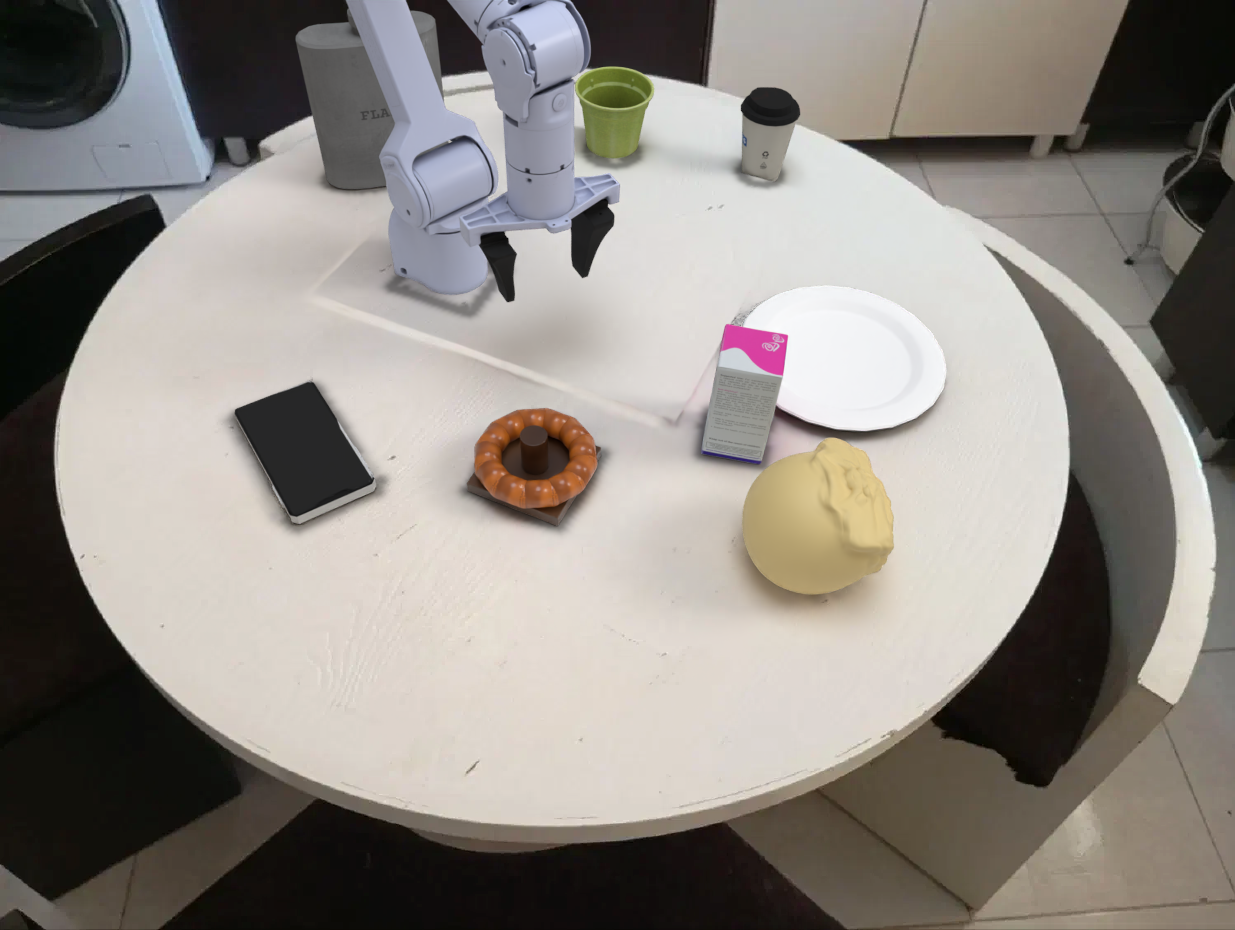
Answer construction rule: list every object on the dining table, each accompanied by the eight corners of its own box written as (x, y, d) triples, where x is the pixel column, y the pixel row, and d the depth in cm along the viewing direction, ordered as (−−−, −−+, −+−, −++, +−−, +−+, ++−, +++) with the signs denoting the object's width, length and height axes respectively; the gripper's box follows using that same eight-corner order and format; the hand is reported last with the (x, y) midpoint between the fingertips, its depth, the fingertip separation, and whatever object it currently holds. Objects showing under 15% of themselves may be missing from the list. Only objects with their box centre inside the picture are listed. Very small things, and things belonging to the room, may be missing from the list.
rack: (467, 491, 88) (462, 453, 84) (514, 423, 94) (512, 385, 90) (557, 526, 86) (557, 489, 82) (601, 455, 92) (602, 417, 88)
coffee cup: (798, 169, 122) (812, 94, 114) (772, 197, 118) (786, 121, 111) (747, 151, 124) (759, 76, 117) (721, 177, 120) (731, 102, 113)
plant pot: (664, 147, 124) (669, 82, 118) (624, 183, 119) (627, 117, 112) (601, 123, 127) (603, 58, 121) (559, 157, 122) (559, 91, 115)
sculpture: (890, 608, 82) (926, 531, 74) (747, 616, 81) (767, 539, 73) (858, 499, 89) (887, 418, 81) (726, 504, 88) (742, 423, 80)
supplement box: (763, 466, 91) (783, 378, 83) (699, 455, 92) (712, 366, 83) (769, 420, 95) (789, 332, 86) (708, 410, 96) (721, 321, 87)
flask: (333, 197, 115) (295, 30, 100) (323, 170, 119) (285, 4, 103) (457, 173, 119) (440, 8, 104) (444, 147, 123) (426, -16, 107)
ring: (453, 487, 87) (450, 470, 85) (510, 406, 93) (509, 388, 92) (564, 530, 84) (563, 513, 83) (615, 443, 91) (616, 426, 89)
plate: (777, 273, 109) (779, 261, 108) (964, 334, 104) (969, 322, 102) (703, 394, 97) (705, 382, 96) (911, 470, 92) (916, 459, 90)
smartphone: (313, 378, 95) (378, 480, 87) (315, 387, 96) (380, 489, 88) (230, 410, 92) (290, 519, 84) (234, 419, 93) (293, 528, 85)
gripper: (478, 204, 77) (490, 333, 88) (639, 157, 82) (632, 285, 93) (443, 158, 81) (458, 286, 92) (599, 116, 86) (597, 243, 97)
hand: (543, 283), depth 92 cm, fingers open, 7 cm apart
